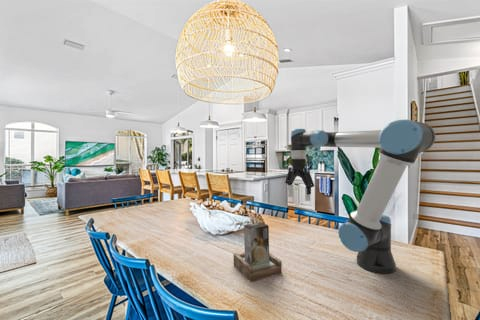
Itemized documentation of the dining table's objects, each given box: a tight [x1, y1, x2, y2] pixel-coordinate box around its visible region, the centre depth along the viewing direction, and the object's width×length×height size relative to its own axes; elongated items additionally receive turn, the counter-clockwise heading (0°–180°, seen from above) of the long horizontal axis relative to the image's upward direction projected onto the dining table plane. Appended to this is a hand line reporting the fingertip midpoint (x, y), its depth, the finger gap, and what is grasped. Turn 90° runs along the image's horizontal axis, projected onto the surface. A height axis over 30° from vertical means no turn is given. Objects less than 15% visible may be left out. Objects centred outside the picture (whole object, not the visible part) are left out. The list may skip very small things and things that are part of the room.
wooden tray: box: [233, 252, 283, 283], centre depth 102 cm, size 16×15×5 cm
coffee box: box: [243, 222, 270, 266], centre depth 102 cm, size 9×6×16 cm
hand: (298, 198), depth 123 cm, fingers open, 13 cm apart
